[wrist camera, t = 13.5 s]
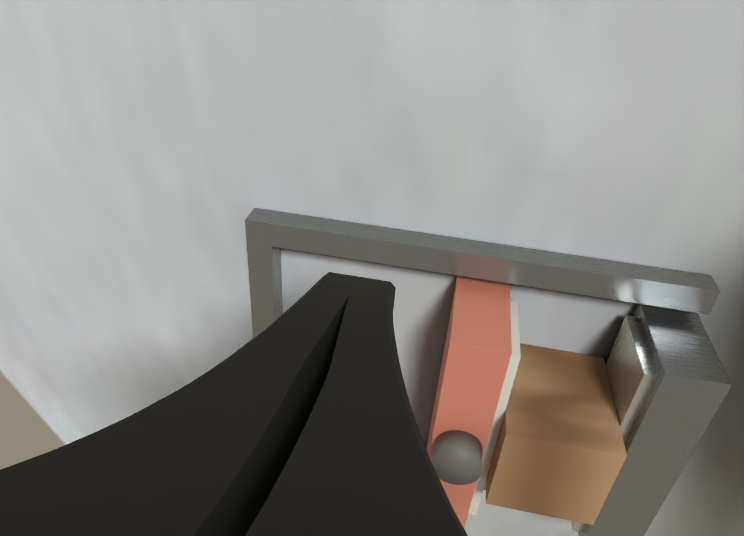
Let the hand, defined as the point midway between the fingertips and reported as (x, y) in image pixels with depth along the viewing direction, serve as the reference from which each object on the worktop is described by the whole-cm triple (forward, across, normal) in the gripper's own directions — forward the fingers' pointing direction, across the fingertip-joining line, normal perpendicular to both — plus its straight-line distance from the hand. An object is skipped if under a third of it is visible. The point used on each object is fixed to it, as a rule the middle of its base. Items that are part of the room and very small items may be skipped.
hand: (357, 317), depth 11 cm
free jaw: (+10, -3, +10) cm, 14 cm away
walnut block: (+10, -7, +10) cm, 16 cm away
